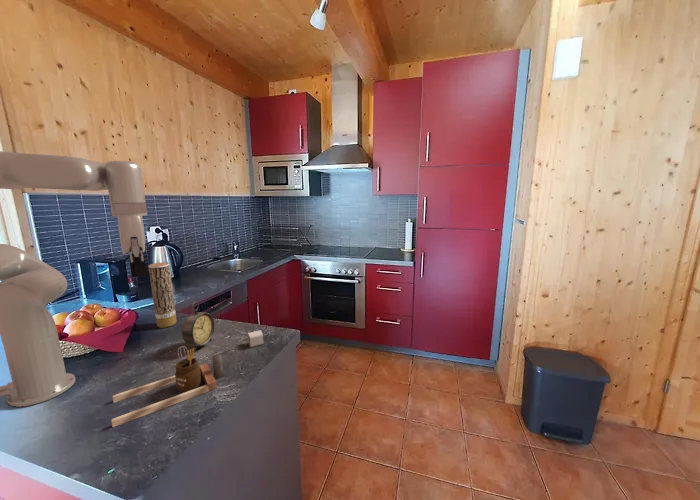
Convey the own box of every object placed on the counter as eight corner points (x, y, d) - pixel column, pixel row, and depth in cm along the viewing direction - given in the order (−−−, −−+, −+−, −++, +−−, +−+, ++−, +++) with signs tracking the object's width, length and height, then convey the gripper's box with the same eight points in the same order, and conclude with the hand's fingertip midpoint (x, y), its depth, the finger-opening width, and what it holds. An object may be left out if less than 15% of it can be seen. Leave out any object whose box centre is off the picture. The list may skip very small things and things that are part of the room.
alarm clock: (195, 355, 95) (190, 308, 92) (181, 353, 96) (175, 307, 93) (217, 339, 105) (212, 296, 102) (203, 338, 106) (199, 295, 103)
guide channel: (112, 427, 65) (108, 403, 64) (113, 400, 74) (109, 379, 73) (228, 383, 80) (226, 364, 79) (218, 365, 89) (216, 347, 88)
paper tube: (152, 326, 116) (144, 265, 111) (169, 320, 122) (161, 261, 117) (164, 329, 113) (156, 267, 109) (180, 322, 119) (173, 263, 115)
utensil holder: (194, 376, 84) (189, 337, 81) (206, 384, 80) (201, 344, 78) (172, 387, 79) (167, 347, 77) (184, 396, 75) (178, 354, 73)
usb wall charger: (263, 344, 102) (262, 333, 101) (242, 350, 98) (241, 339, 97) (260, 339, 105) (260, 329, 104) (240, 344, 101) (239, 334, 101)
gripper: (112, 209, 82) (121, 268, 85) (110, 211, 68) (121, 282, 71) (144, 208, 86) (152, 264, 89) (148, 210, 73) (157, 277, 76)
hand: (138, 272), depth 80 cm, fingers open, 9 cm apart
